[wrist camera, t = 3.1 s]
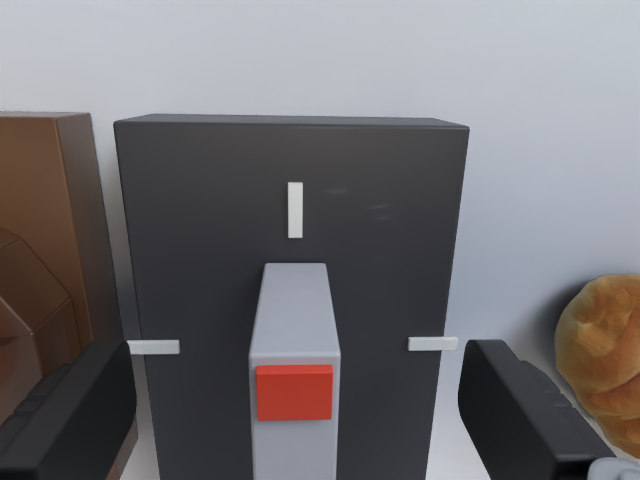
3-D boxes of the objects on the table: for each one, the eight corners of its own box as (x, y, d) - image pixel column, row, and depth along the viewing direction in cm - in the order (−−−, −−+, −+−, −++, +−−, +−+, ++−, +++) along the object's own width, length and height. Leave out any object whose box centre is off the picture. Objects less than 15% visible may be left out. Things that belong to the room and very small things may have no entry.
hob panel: (411, 431, 17) (435, 503, 14) (175, 437, 17) (149, 512, 14) (445, 118, 13) (488, 127, 10) (139, 113, 13) (92, 121, 10)
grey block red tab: (322, 416, 13) (334, 570, 9) (268, 417, 13) (255, 574, 9) (325, 262, 11) (342, 361, 7) (264, 262, 11) (246, 363, 7)
